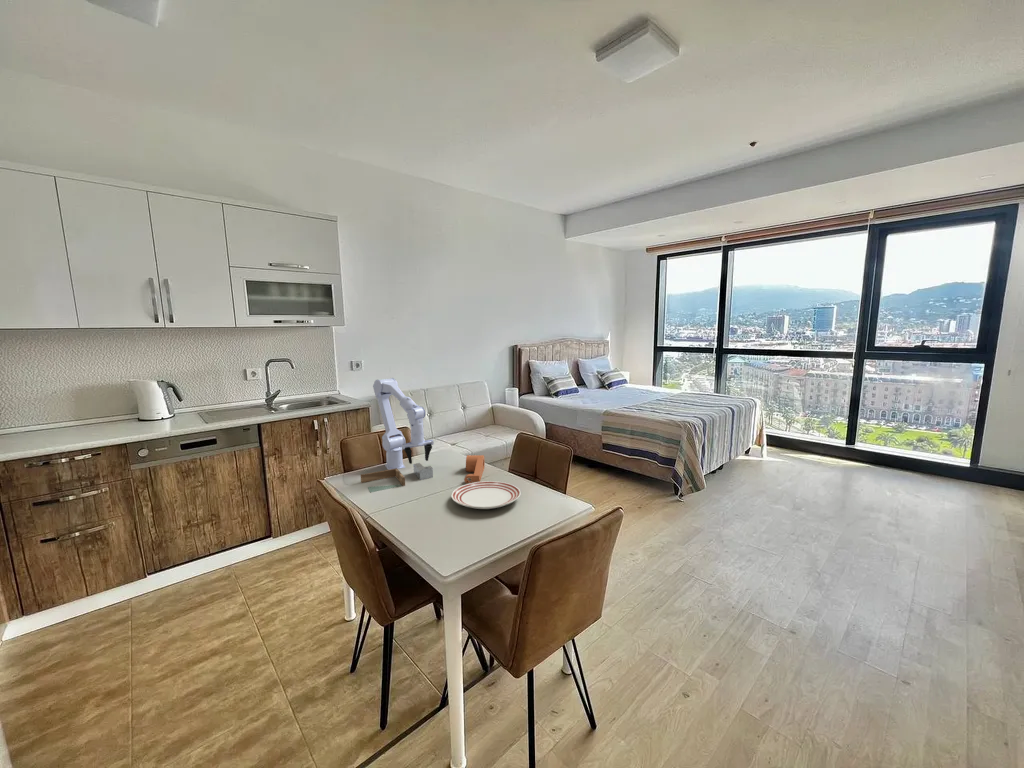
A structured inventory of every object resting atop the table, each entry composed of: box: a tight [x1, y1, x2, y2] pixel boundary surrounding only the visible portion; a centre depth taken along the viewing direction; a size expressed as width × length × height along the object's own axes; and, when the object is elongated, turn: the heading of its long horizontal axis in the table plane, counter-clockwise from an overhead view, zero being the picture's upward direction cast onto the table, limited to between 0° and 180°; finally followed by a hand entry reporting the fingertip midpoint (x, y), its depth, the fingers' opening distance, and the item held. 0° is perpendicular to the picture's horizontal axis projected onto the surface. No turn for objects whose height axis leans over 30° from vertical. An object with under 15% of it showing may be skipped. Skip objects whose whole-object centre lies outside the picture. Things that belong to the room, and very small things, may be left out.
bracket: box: [413, 462, 434, 481], centre depth 184 cm, size 10×6×5 cm, turn 30°
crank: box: [464, 454, 486, 484], centre depth 184 cm, size 20×8×8 cm, turn 177°
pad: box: [367, 484, 402, 493], centre depth 172 cm, size 8×13×1 cm, turn 120°
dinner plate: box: [450, 480, 522, 510], centre depth 157 cm, size 27×27×3 cm
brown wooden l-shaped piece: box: [360, 468, 406, 487], centre depth 174 cm, size 14×16×4 cm
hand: (418, 461), depth 184 cm, fingers open, 7 cm apart
